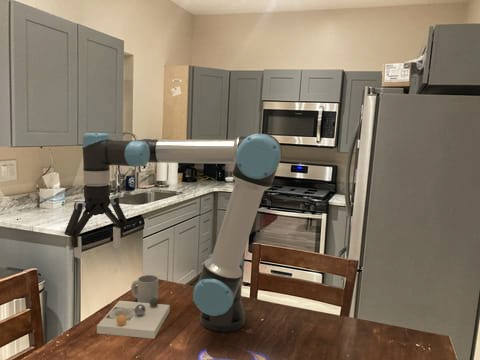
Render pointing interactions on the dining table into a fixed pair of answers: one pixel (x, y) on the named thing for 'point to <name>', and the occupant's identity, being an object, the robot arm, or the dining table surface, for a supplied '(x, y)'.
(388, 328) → the dining table surface
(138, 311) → the ball
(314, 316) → the dining table surface
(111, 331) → the board
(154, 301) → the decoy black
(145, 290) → the cup
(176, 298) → the dining table surface
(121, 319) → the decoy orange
